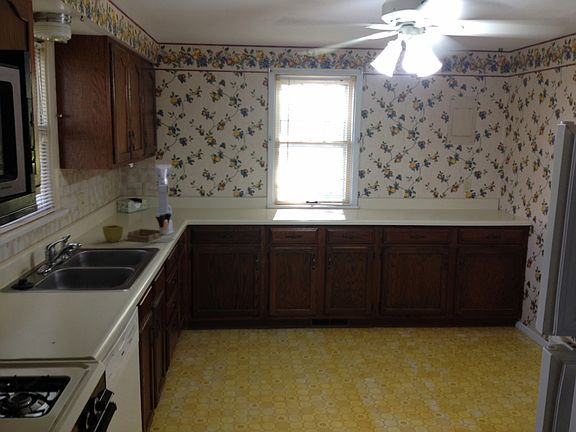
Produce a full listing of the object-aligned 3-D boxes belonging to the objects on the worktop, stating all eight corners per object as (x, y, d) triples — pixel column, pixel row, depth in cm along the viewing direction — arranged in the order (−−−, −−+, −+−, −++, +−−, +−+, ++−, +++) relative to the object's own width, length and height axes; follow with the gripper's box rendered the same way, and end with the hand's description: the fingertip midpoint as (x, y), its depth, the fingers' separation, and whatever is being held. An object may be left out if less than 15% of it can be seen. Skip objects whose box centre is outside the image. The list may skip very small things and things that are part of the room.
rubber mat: (163, 238, 349) (163, 238, 349) (175, 239, 346) (175, 239, 346) (153, 241, 337) (153, 241, 337) (165, 243, 335) (165, 242, 335)
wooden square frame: (140, 235, 355) (140, 228, 354) (160, 237, 351) (160, 230, 350) (127, 240, 341) (127, 232, 341) (148, 241, 337) (148, 234, 336)
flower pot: (115, 239, 344) (115, 224, 342) (124, 241, 338) (123, 226, 337) (102, 241, 337) (102, 226, 335) (111, 243, 331) (110, 228, 330)
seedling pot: (162, 228, 344) (161, 218, 343) (169, 229, 342) (169, 219, 341) (157, 230, 339) (157, 220, 338) (165, 230, 338) (164, 220, 337)
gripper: (163, 202, 346) (164, 224, 348) (151, 205, 333) (151, 228, 335) (173, 203, 344) (174, 225, 346) (161, 206, 330) (162, 229, 333)
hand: (163, 226), depth 340 cm, fingers closed on seedling pot, 5 cm apart
